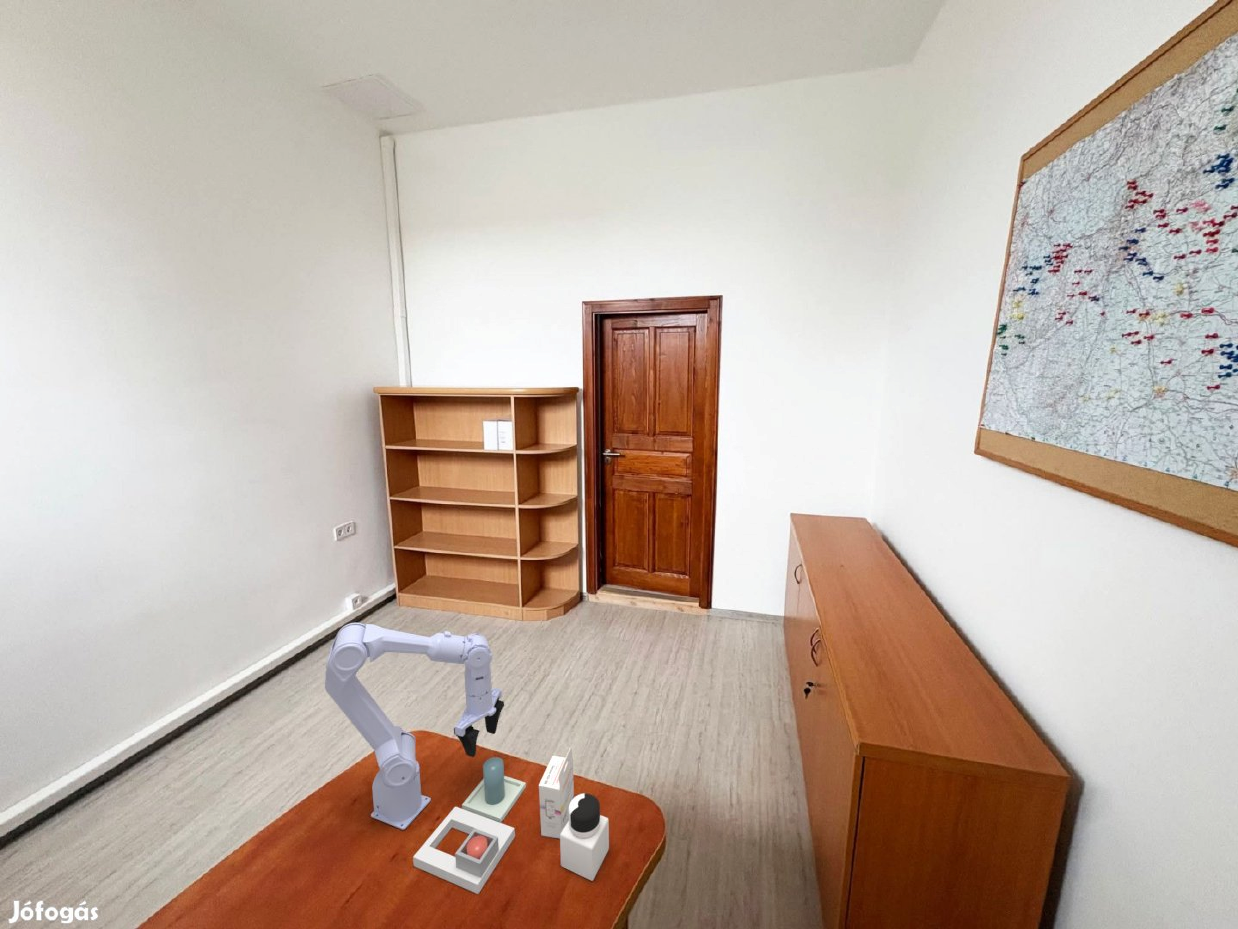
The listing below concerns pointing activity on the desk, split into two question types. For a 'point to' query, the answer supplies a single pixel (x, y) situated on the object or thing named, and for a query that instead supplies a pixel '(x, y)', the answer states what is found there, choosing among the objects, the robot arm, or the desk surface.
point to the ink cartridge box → (556, 795)
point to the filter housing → (465, 850)
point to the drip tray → (497, 811)
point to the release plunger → (477, 847)
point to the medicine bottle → (584, 837)
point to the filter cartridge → (494, 780)
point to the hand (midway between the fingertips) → (481, 743)
